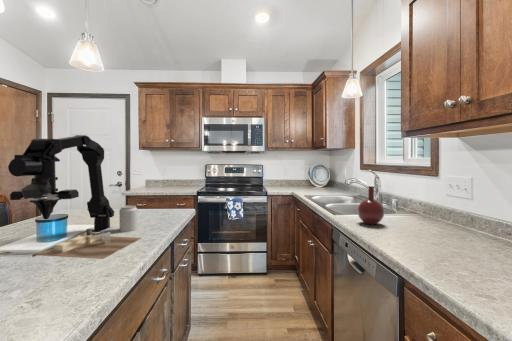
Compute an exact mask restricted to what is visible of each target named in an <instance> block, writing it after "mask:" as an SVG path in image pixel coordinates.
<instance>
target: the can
mask: <svg viewBox="0 0 512 341" xmlns="http://www.w3.org/2000/svg"><path fill="white" fill-rule="evenodd" d="M138 210H139V209H138V208H137V206H136V205H134V204H133V205H131V204H130V205H129V204H128V205H122V206H121V207H120V209H119V232H122V233H129V232H130V233H131V232H136V231H138V229H139V228H138V227H139V223H138V222H139V221H138V220H139V219H138V218H139V217H138V215H139V212H138Z"/></svg>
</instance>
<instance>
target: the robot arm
mask: <svg viewBox="0 0 512 341" xmlns="http://www.w3.org/2000/svg"><path fill="white" fill-rule="evenodd" d="M70 148H76V151H78V152H79V154H81V158H82V160H83V162H84V163H85V164H86V165H87V169H88V177H89V178H88V179H89V185H90V195H91V197H90V199H89V201H87V202H86V205H87V211H88V215H89V217H90V218H91V219H92V218H94V221H93V227H94V228H93V229H92V232H103V231H106V230H107V229H110V228H111V222H110V221H111V218H114V216H115V211H114V209H113V208H112V207H111V205H110V201H109V199H108V198H107V196H106V195H105V192H104V180H103V174H102V164H103V162H104V160H105V149H104V147H102V146H101V145H100V144H99V143H98V142H97V141H95V140H92V139H91V138H90V137H89V136H88V135H86V134H84V135H81V134H80V135H73V136H68V137H61V138H33V139H31V140H30V144H29V145H28V146H27V148H26V149H25V150H24V151H23V153H22V154H14V157H13V159H11V161H10V162H9V164H8V166H7V169H8V172H9V173H10V175H12V176H14V177H29V176H31V177H32V176H34V177H32V178H31V180H30V181H31V183H30V184H27V185H25V187H23V188H22V189H20V190H14V191H12V192H10V194H9V201H21V200H22V199H24V200H28V199H30V200H29V203H32V204H34V205H35V206H36V207H37V208H38V210H39V211H40V215H41V216H42V218H43V220H48V219H49V218H50V216H51V214H52V212H53V210H54V209H55V207H56V205H57V203H58V202H59V201H61V200H73V199H77V198H79V196H80V195H79V191H78V190H77V189H64V190H59V188H57V187H56V184H57V183H56V181H59V180H58V178H59V177H58V176H56V162H60V160H61V159H59V158H58V157H57V156H56V155H57V154H59V153H61V152H62V151H63V150H66V149H70Z"/></svg>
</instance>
